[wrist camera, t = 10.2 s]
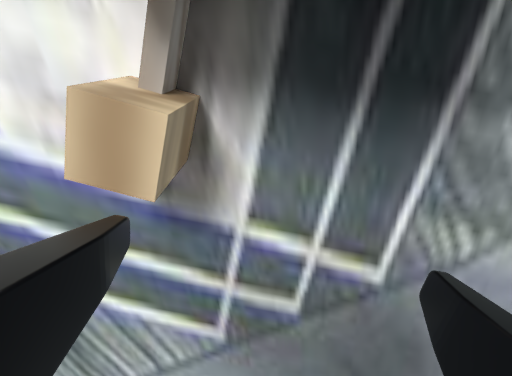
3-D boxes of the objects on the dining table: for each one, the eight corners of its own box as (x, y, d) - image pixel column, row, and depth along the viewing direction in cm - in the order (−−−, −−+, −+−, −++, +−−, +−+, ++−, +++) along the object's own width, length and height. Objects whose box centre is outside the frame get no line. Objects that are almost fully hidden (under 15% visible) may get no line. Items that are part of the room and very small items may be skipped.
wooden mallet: (247, -149, 14) (231, -284, 8) (187, 160, 19) (154, 202, 14) (157, -180, 13) (78, -341, 8) (123, 142, 19) (64, 178, 14)
